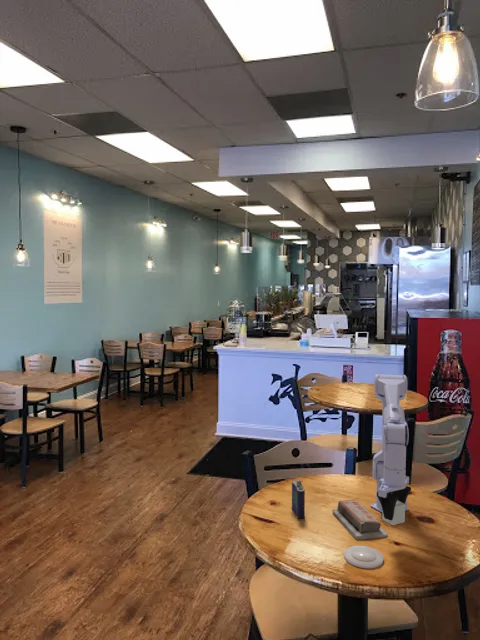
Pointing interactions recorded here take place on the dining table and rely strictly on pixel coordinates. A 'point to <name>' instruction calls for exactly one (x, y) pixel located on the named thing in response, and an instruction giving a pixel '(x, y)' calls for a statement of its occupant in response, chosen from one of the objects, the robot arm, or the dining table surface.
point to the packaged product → (358, 520)
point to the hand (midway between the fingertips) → (393, 515)
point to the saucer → (363, 557)
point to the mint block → (397, 514)
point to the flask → (298, 499)
